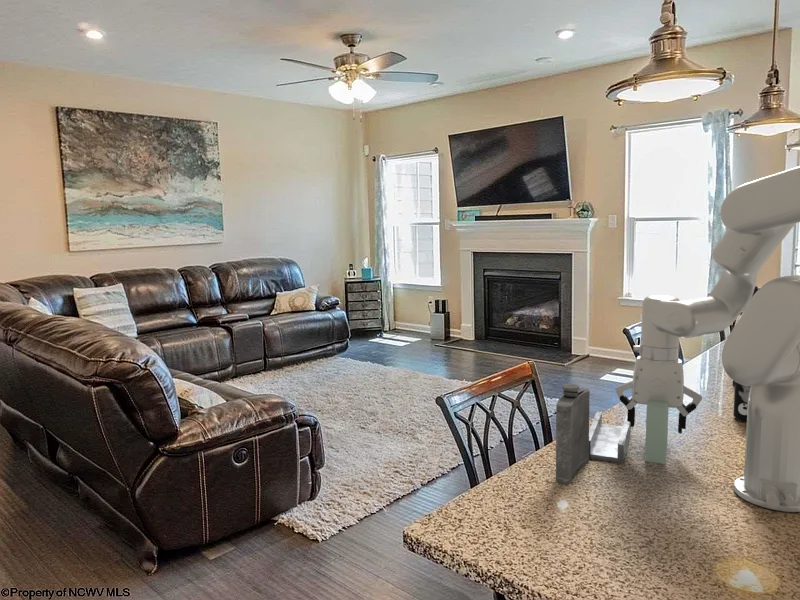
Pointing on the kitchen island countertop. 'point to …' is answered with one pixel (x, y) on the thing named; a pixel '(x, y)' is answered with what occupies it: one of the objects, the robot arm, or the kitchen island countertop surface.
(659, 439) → the door panel
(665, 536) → the kitchen island countertop surface
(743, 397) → the beverage can
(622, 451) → the strip
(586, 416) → the flask
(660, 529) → the kitchen island countertop surface
